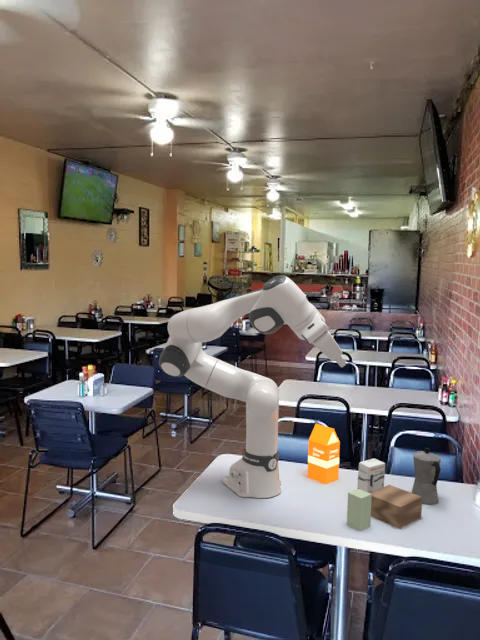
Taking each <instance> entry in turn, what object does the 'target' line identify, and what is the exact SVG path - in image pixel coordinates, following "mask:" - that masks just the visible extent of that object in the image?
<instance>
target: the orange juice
mask: <svg viewBox="0 0 480 640" xmlns="http://www.w3.org/2000/svg"><path fill="white" fill-rule="evenodd" d="M340 446H341V441H340V440H339V437H338V436H337V433H336V431H335V428H332V427H329V426H325V425H322V424H319V423H315V424H314V427H313V429H312V431H311V434H310V436H309V438H308V453H307V478H309V479H311V480H313V481H316V482H319V483H321V484H324V485H328V484H330V483H332V482H335V481H338V480H339V474H340V473H339V471H340V449H341V447H340Z"/></svg>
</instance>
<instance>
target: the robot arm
mask: <svg viewBox="0 0 480 640" xmlns="http://www.w3.org/2000/svg"><path fill="white" fill-rule="evenodd" d="M306 296H307V295H305V293H304V291H302V289H301V288H300V287H299V286H298V285H297V284H296V283H295V282H294V281H293V280H292V279H291V278H289V276H286V275H276V276H273V277H272V278H270V279H269V280H267V281H266V282H265V283H264V284H263V285H262V288H258V289H255V290H252V291H247V292H245V293H242V294H238V295H235V296H232V297H229V298H225V299H223V300H219V301H217V302H214V303H211V304H206V305H202V306H199V307H194V308H189V309H185V310H183V311H180V312H177V313H175V314H174V315H172V316H171V317H170V318H169V319H168V323H167V332H168V335H169V336H168V339H167V341H166V343H165V345H164V346H163V347H164V348H163V350H162V351H161V352H160V356H159V359H158V365H159V368H160V369H161V371H163V372H164V373H165V374H166V375H168V376H171V377H173V378H174V377H176V378H180V377H183V376H184V377H186V379H188V380H190V381H191V382H193V383H194V384H196V385H199V386H200V387H202V388H204V389H206V390H208V391H211V392H213V393H215V394H218V395H220V396H222V397H224V398H228V399H229V398H230V399H234V400H238V401H241V402H245V425H246V426H245V427H246V429H245V430H246V434H245V435H246V436H245V448H243V449H240V454H242V457H241V458H240V459H238V460H236V462H234V463H232V464H231V466H230V467H229V471H228V475H226V476H224V477H223V478H222V479H221V482H222V483H223V484H224V485H225V486H227V488H229V489H230V490H231V491H233V492H234V493H235V494H236V495H237V496H238V497H240V498H257V499H267V498H268V499H269V498H274V497H276V496H277V495H280V494H281V492H282V489H281V485H282V481H281V480H280V469H279V463H278V462H279V458H280V456H279V455H280V453H279V450H278V446H279V445H278V443H279V442H278V441H279V438H278V437H279V413H280V412H279V411H280V409H279V408H280V395H279V394H280V392H279V387H278V385H277V383H276V382H275V381H274V380H273V379H272V378H269V377H267V376H263V375H260V374H258V373H255V372H252V371H249V370H245V369H242V368H240V367H237V366H235V365H233V364H231V363H228V362H226V361H223V360H221V359H219V358H217V357H214V356H211V355H209V354H208V353H206V352H205V351H204V350H203V347H205V346H207V342H211V341H213V340H214V341H215V340H216V339H219V338H221V337H222V336H223V335H224V333H226V332H227V331H228V330H229V329H230V327H231V326H232V325H233V324H234V323H235V322H237V320H239V319H240V318H241V317H243V316H245V315H247V314H248V319H249V320H248V321H249V323H250V325H251V327H252V328H253V329H254V330H255V331H257V332H258V333H261V334H263V335H272V334H275V333H276V332H278V331H279V330H280V329H281V328H282V327H283V326H284V325H288V327H289V328H290V329H291V330H292V332H294V334H295V335H296V336H297V337H298V339H300V340H303V341H306V342H308V343H309V344H312V345H313V346H315V348H317V349H318V350H319V351H320V352H321V353H322V354H324V356H326V358H328V359H329V360H330V361H331V362H336V363H337V364H338V366H339V367H340V368H344V367H345V366H346V365H347V362H346V361H345V360H344V358H343V357H342V355H343V351H342V349H341V347H340V346H339V344H338V343H337V342H336V340H335V338H334V336H333V335H332V334H331V332H330V331H329V326H328V324H327V323H326V318H325V317H324V316H323V315H322V314H321V312H320V311H319V310H318V309H317V308H316V306H315V305H314V304H312V303H311V302H309V300H308V297H306Z"/></svg>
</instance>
